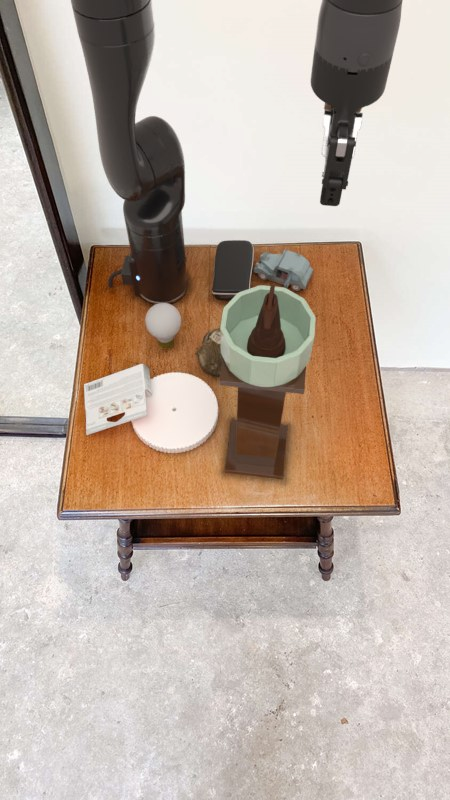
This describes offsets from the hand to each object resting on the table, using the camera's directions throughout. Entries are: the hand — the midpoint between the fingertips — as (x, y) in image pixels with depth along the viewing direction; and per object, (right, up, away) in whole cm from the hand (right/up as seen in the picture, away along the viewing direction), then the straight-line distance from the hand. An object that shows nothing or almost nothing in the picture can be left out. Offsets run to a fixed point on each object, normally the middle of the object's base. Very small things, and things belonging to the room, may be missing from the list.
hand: (331, 177), depth 76 cm
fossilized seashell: (-13, -19, +36) cm, 42 cm away
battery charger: (-11, -8, +40) cm, 42 cm away
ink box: (-30, -22, +30) cm, 48 cm away
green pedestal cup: (-7, -34, +27) cm, 44 cm away
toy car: (-2, -4, +44) cm, 44 cm away
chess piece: (-7, -20, +2) cm, 21 cm away
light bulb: (-23, -17, +37) cm, 46 cm away
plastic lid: (-20, -29, +30) cm, 46 cm away
